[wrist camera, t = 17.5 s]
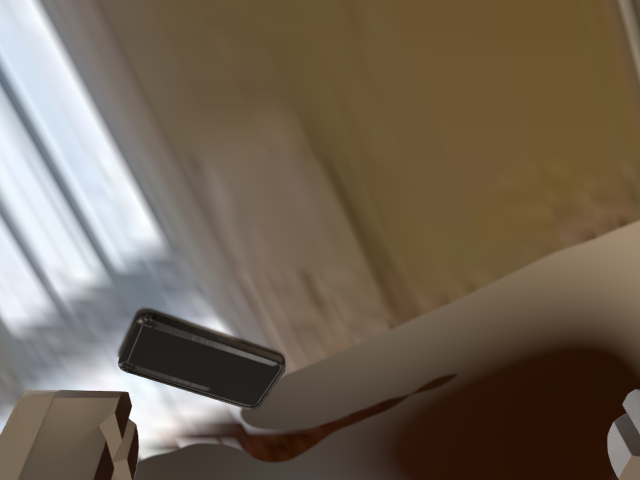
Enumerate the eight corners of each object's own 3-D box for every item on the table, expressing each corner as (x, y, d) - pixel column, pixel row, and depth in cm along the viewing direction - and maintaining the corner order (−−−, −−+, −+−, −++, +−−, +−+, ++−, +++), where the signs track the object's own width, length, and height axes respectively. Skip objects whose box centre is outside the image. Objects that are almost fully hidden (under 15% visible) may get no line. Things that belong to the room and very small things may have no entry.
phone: (140, 314, 52) (289, 365, 57) (142, 306, 53) (289, 357, 57) (114, 369, 56) (256, 413, 60) (117, 360, 57) (256, 404, 61)
